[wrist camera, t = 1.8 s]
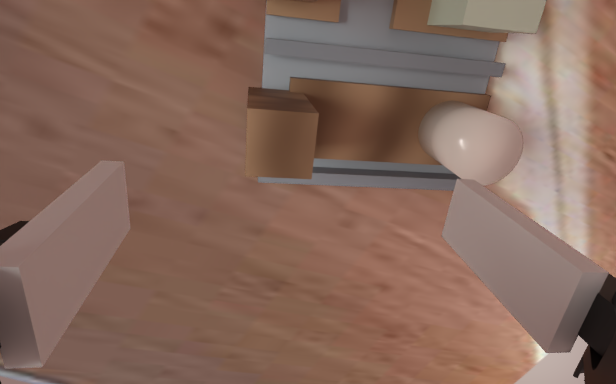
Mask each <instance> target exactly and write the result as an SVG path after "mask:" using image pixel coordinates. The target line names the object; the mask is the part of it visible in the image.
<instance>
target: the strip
mask: <svg viewBox="0 0 616 384" xmlns="http://www.w3.org/2000/svg"><path fill="white" fill-rule="evenodd" d="M490 97H491V96H490V95H486V94H477V93H466V92H455V91H444V90H433V89H422V88H411V87H399V86H388V85H377V84H366V83H355V82H344V81H332V80H321V79H310V78H299V77H290V83H289V90H278V89H266V88H254V87H249V90H248V105H247V130H246V157H245V176H249V177H271V178H293V179H312V171H313V162H314V158H316V159H335V160H353V161H372V162H390V163H408V164H427V165H442V164H440V163H439V162H438V161H436V160H435V159H434V158H432V157H431V156H429V155H428V154H427V153H426V152H425V151H424V150H423V149H422V147H421V145H420V143H419V138H418V132H419V127H420V124H421V121H422V119H423V117H424V116H425V115H426V113H427V112H428V111H429V110H430V109H431V108H432V107H434V106H435V105H437V104H439V103H441V102H444V101H450V100H454V101H459V102H462V103H465V104H468V105H470V106H473V107H476V108H479V109H482V110H485V111H487V107H488V104H489V100H490Z"/></svg>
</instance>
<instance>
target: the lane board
mask: <svg viewBox="0 0 616 384" xmlns="http://www.w3.org/2000/svg"><path fill="white" fill-rule="evenodd" d="M431 3H432V0H266V18H265V37H264V57H263V76H262V88H266V89H278V90H289V83H290V77H299V78H310V79H321V80H332V81H344V82H355V83H366V84H377V85H388V86H399V87H411V88H422V89H433V90H444V91H455V92H466V93H477V94H485V92H486V88H487V84H488V81H489V77H490V76H493V77H502V74H503V70H504V67H505V63H498V62H494V59H495V56H496V52H497V49H498V45H499V42H506V40H507V36H508V33H489V32H481V31H473V30H464V29H456V28H447V27H439V26H431V25H427V22H428V18H429V13H430V8H431ZM457 179H461V178H460V177H458V176H457V175H456V174H454V173H453V172H452V171H450V170H449V169H447V168H446V167H445V166H443V165H427V164H408V163H390V162H372V161H353V160H335V159H316V158H314V162H313V171H312V179H293V178H271V177H258V182H263V183H286V184H310V185H333V186H357V187H380V188H404V189H427V190H451V191H454V188H455V184H456V181H457Z"/></svg>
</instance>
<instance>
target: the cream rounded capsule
mask: <svg viewBox="0 0 616 384" xmlns="http://www.w3.org/2000/svg"><path fill="white" fill-rule="evenodd" d="M418 138H419V143H420V145H421V147H422V149H423V150H424V151H425V152H426V153H427V154H428V155H429V156H431V157H432V158H434V159H435V160H436V161H438V162H439V163H440V164H442V165H443V166H445V167H446V168H447V169H449V170H450V171H452V172H453V173H454V174H456V175H457V176H458V177H460V178H461V179H471V180H475V181H476V182H478V183H479V184H481V185H482V186H485V185H490V184H493V183H496V182H498V181H499V180H501V179H503V178H504V177H505V176H507V175H508V174H509V173H510V172H511V171H512V170H513V168H514V167H515V166H516V164H517V163H518V161H519V159H520V156H521V153H522V149H523V137H522V133H521V131H520V129H519V127H518V126H517V125H516V124H515V123H514V122H513V121H511V120H509V119H507V118H504V117H501V116H499V115H496V114H493V113H490V112H487V111H485V110H482V109H479V108H476V107H473V106H470V105H468V104H465V103H462V102H459V101H454V100H450V101H444V102H441V103H439V104H437V105H435V106H434V107H432V108H431V109H430V110H429V111H428V112H427V113H426V115H425V116H424V117H423V119H422V121H421V124H420V127H419V132H418Z"/></svg>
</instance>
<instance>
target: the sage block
mask: <svg viewBox="0 0 616 384" xmlns="http://www.w3.org/2000/svg"><path fill="white" fill-rule="evenodd" d="M546 1H547V0H432V3H431V8H430V13H429V18H428V22H427V25H431V26H439V27H447V28H456V29H464V30H473V31H481V32H489V33H531V34H536V32H537V29H538V26H539V23H540V20H541V16H542V13H543V10H544V7H545V4H546Z"/></svg>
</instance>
